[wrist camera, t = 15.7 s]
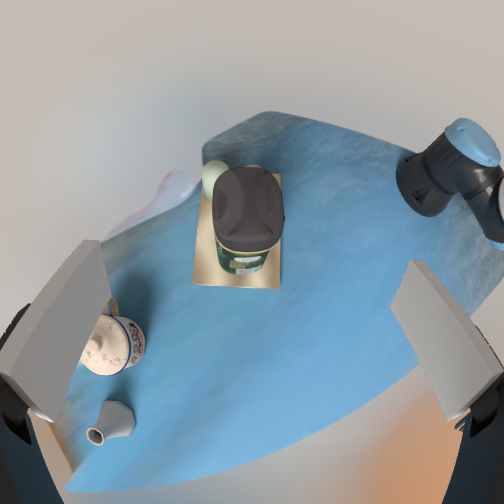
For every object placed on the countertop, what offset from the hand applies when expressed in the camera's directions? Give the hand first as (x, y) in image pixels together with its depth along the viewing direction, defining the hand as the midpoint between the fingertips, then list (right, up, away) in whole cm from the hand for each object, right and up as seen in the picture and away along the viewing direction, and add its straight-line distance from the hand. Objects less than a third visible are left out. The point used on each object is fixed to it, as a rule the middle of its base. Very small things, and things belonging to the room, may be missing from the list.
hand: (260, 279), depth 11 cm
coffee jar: (-2, +2, +35) cm, 35 cm away
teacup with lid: (-22, -13, +31) cm, 40 cm away
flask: (-24, -28, +26) cm, 45 cm away
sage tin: (-7, +12, +37) cm, 39 cm away
